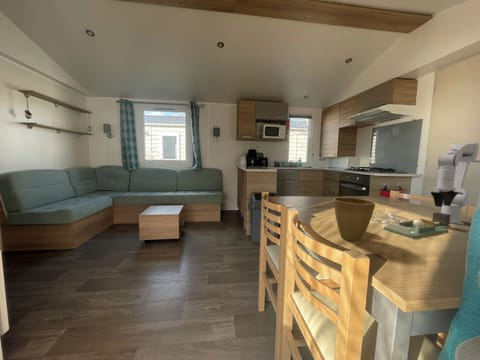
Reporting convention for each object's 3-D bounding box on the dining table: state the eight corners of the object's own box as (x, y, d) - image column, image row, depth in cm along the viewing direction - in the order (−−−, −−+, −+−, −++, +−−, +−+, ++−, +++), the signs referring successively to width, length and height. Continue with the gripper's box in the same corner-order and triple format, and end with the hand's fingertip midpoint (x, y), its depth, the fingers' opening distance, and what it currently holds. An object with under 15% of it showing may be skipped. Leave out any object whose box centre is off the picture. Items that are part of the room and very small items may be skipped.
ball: (411, 226, 98) (412, 218, 98) (422, 227, 96) (423, 219, 96) (413, 228, 95) (414, 220, 95) (424, 230, 93) (425, 221, 93)
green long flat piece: (428, 222, 109) (429, 216, 108) (459, 229, 97) (459, 223, 97) (383, 229, 96) (384, 223, 96) (412, 238, 85) (413, 231, 85)
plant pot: (379, 247, 76) (382, 205, 74) (336, 243, 79) (339, 202, 77) (363, 233, 91) (366, 197, 89) (328, 230, 94) (330, 196, 92)
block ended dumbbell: (436, 221, 105) (437, 212, 105) (449, 224, 100) (450, 214, 100) (419, 224, 100) (420, 214, 100) (432, 227, 95) (433, 217, 95)
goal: (396, 226, 97) (397, 218, 97) (418, 233, 89) (419, 224, 88) (387, 228, 95) (388, 219, 94) (409, 235, 86) (410, 225, 86)
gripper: (444, 178, 106) (441, 203, 107) (427, 178, 101) (424, 205, 102) (462, 179, 99) (459, 206, 101) (445, 179, 94) (442, 208, 96)
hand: (442, 206), depth 101 cm, fingers open, 7 cm apart
